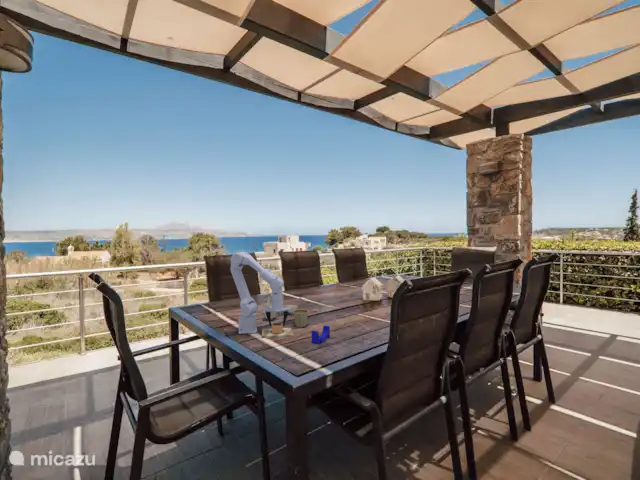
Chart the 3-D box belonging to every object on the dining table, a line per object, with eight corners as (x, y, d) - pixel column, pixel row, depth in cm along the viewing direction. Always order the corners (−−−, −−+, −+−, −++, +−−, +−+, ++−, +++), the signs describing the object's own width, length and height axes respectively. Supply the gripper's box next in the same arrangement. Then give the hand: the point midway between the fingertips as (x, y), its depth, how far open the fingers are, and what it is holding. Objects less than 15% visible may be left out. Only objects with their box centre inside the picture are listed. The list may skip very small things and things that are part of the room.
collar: (271, 333, 174) (271, 325, 174) (271, 330, 180) (271, 322, 180) (282, 332, 175) (282, 325, 175) (282, 329, 181) (282, 322, 180)
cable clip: (319, 344, 162) (319, 332, 161) (311, 343, 164) (311, 331, 164) (332, 338, 172) (332, 326, 171) (324, 336, 174) (324, 325, 174)
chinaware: (270, 325, 197) (272, 298, 196) (252, 318, 207) (253, 292, 206) (301, 315, 219) (303, 291, 218) (283, 309, 229) (285, 286, 228)
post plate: (261, 338, 171) (261, 327, 170) (262, 330, 182) (262, 320, 182) (292, 336, 173) (292, 326, 173) (291, 329, 185) (291, 319, 185)
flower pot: (294, 329, 186) (294, 313, 185) (291, 324, 195) (291, 309, 194) (310, 327, 188) (310, 312, 188) (306, 322, 197) (306, 308, 197)
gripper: (263, 302, 172) (263, 328, 172) (291, 301, 174) (291, 327, 175) (263, 299, 179) (263, 324, 179) (290, 298, 181) (290, 323, 182)
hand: (277, 325), depth 177 cm, fingers open, 7 cm apart
